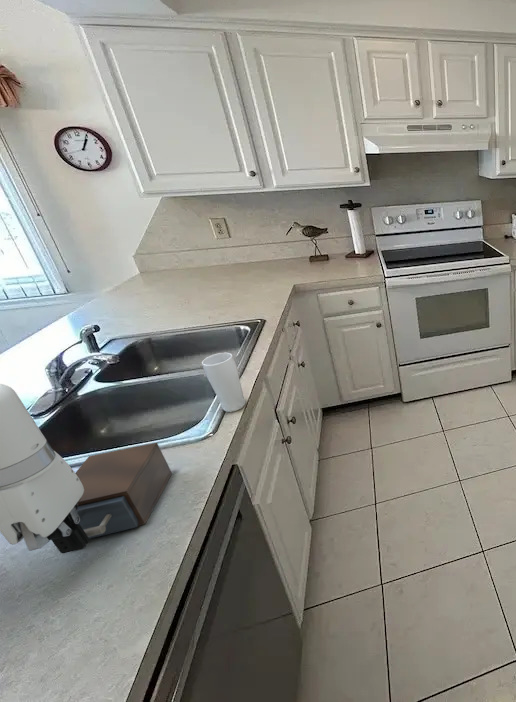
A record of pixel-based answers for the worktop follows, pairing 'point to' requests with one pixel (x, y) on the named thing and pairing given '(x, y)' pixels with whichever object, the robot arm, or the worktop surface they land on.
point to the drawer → (106, 516)
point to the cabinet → (126, 478)
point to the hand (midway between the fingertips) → (76, 546)
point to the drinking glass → (224, 380)
